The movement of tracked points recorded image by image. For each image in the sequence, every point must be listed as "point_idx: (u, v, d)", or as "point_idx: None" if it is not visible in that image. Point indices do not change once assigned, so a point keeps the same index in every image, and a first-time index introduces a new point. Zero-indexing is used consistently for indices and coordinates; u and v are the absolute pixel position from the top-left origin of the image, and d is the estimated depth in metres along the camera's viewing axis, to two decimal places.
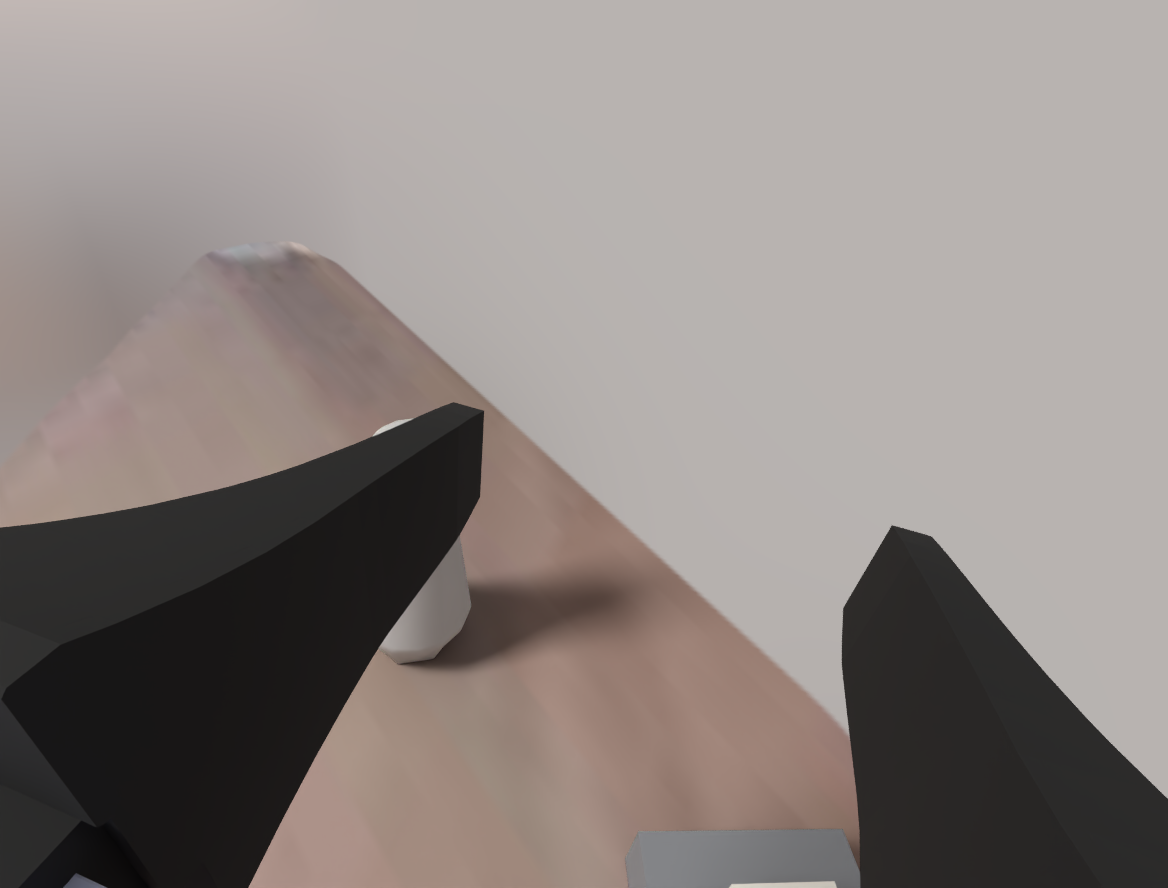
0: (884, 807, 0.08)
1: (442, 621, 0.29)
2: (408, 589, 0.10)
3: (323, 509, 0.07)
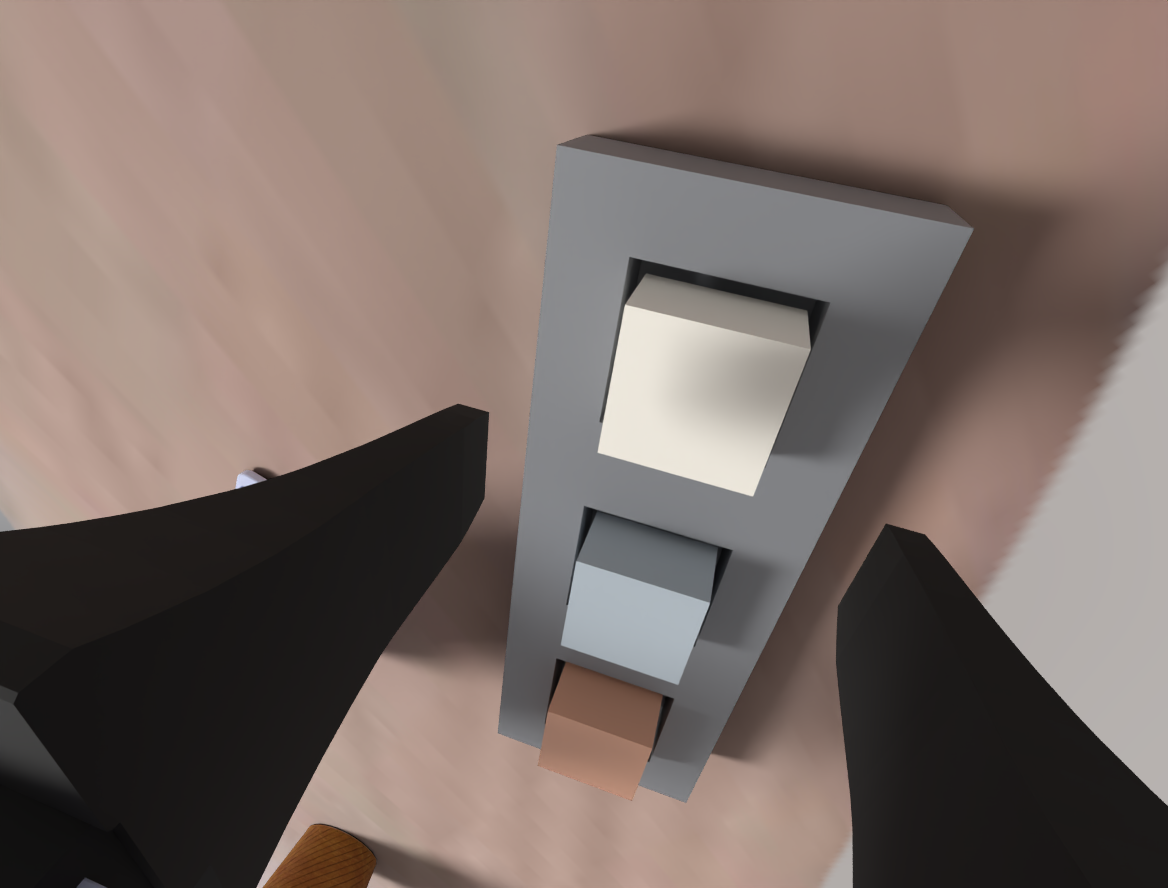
0: (876, 804, 0.08)
1: None
2: (414, 590, 0.10)
3: (330, 511, 0.07)
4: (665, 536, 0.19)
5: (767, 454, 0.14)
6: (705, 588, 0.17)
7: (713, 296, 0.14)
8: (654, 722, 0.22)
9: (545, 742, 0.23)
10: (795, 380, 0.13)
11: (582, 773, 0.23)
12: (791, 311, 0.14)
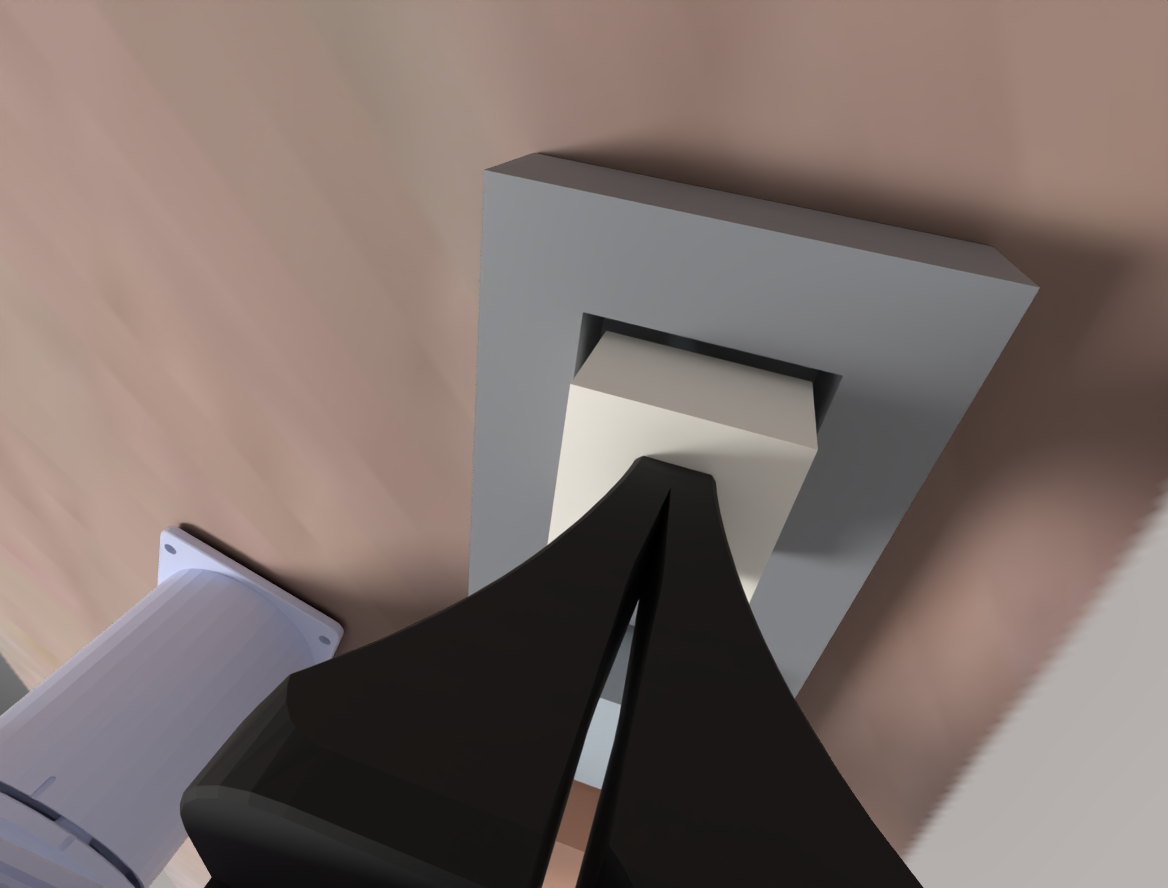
0: (622, 715, 0.08)
1: None
2: (613, 658, 0.09)
3: (610, 602, 0.06)
4: None
5: (760, 571, 0.11)
6: None
7: (690, 363, 0.11)
8: None
9: None
10: (797, 486, 0.09)
11: (550, 884, 0.20)
12: (791, 384, 0.11)
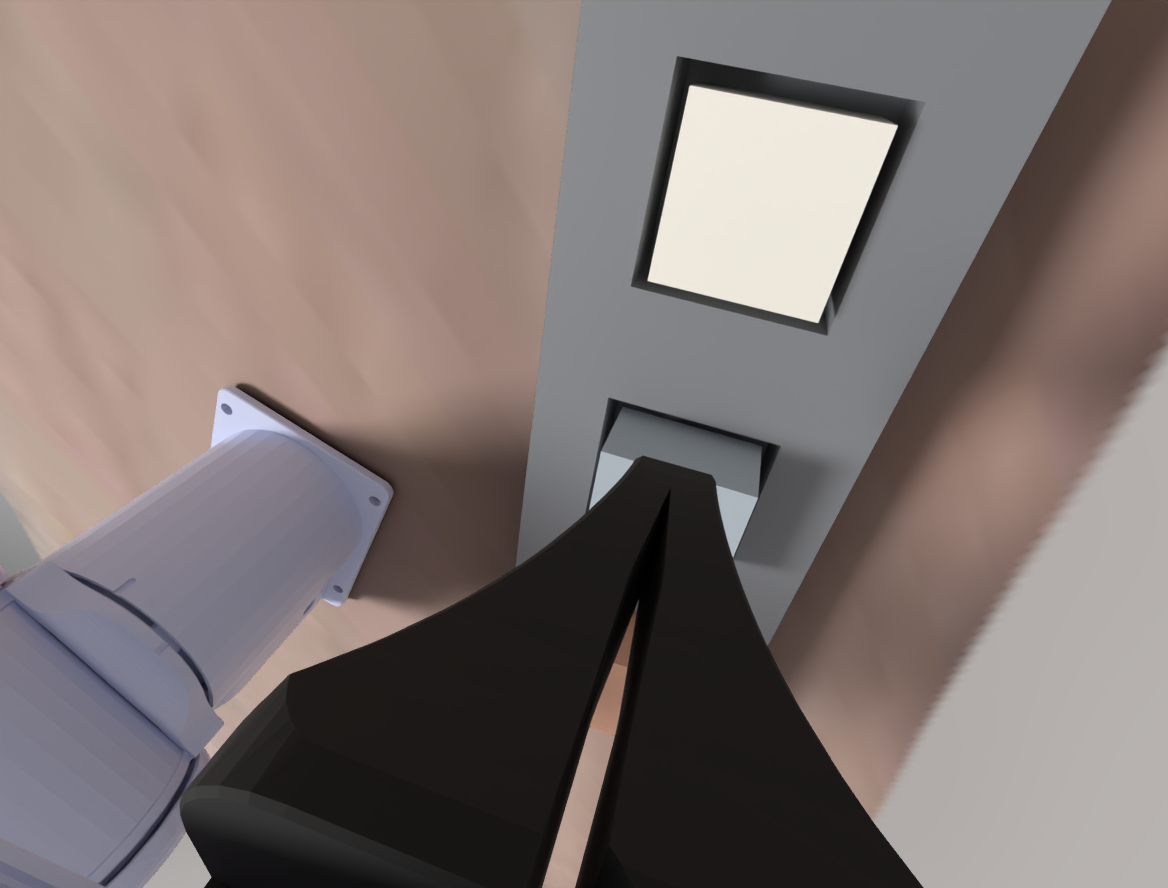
0: (622, 715, 0.08)
1: None
2: (613, 658, 0.09)
3: (610, 602, 0.06)
4: (701, 433, 0.16)
5: (838, 267, 0.13)
6: (751, 484, 0.15)
7: (779, 97, 0.13)
8: None
9: None
10: (877, 168, 0.11)
11: (597, 717, 0.21)
12: (866, 113, 0.13)
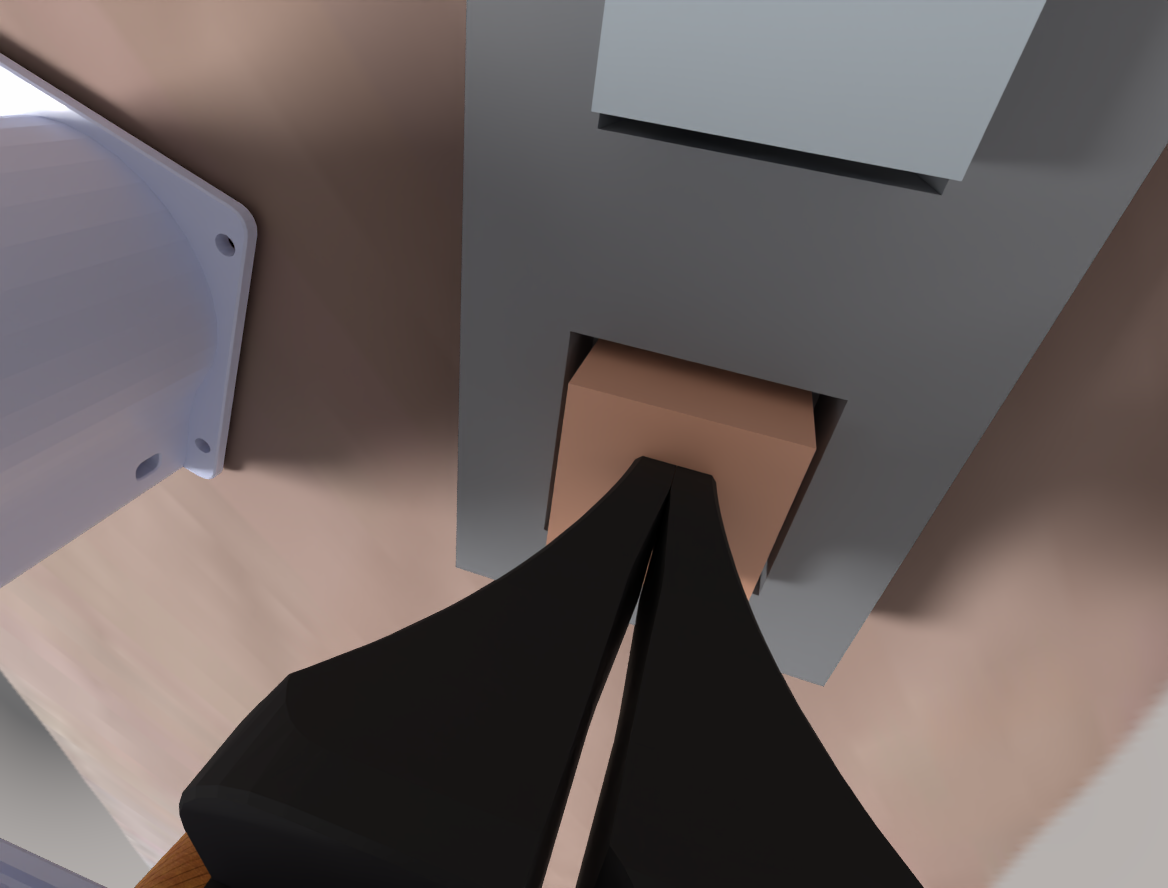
0: (622, 715, 0.08)
1: None
2: (613, 658, 0.09)
3: (609, 602, 0.06)
4: None
5: None
6: None
7: None
8: (807, 415, 0.10)
9: (561, 484, 0.11)
10: None
11: None
12: None
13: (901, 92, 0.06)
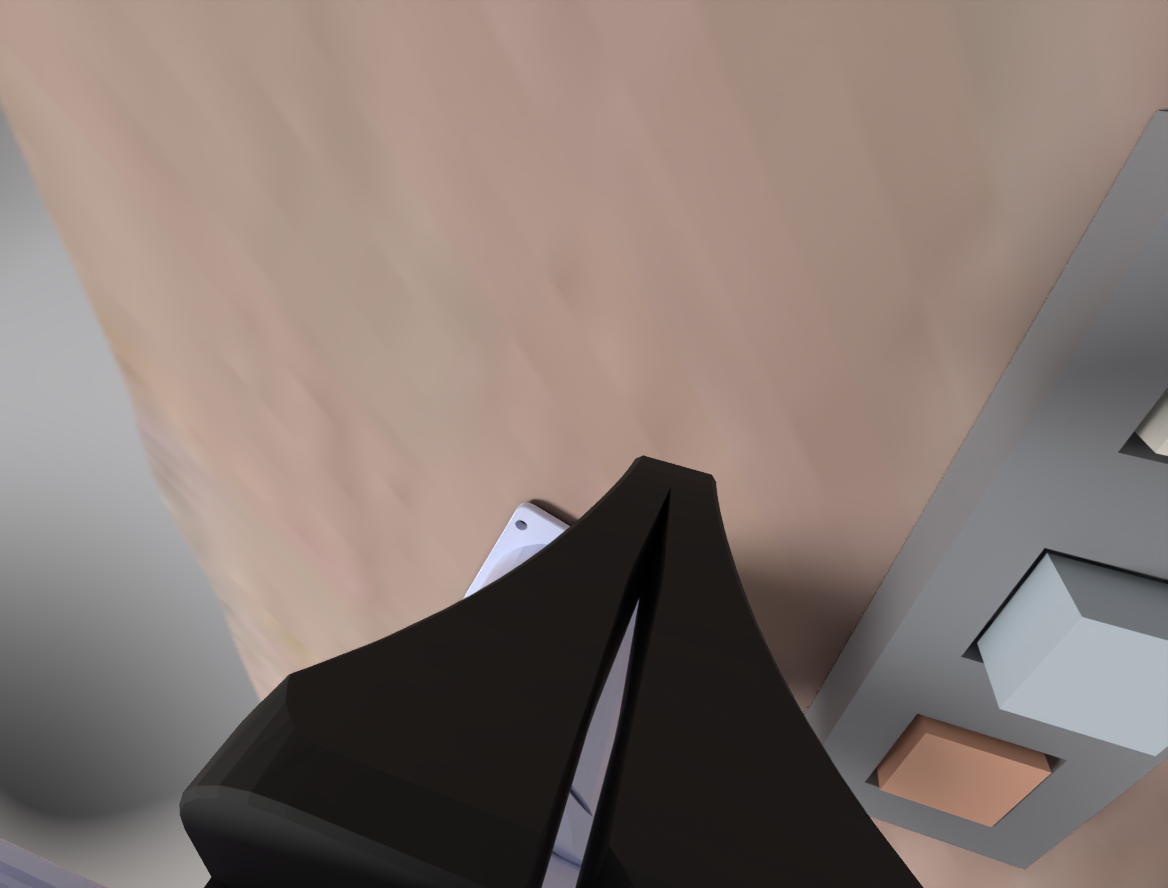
0: (622, 715, 0.08)
1: None
2: (613, 658, 0.09)
3: (610, 602, 0.06)
4: (1142, 582, 0.16)
5: None
6: None
7: None
8: None
9: (904, 765, 0.22)
10: None
11: (938, 798, 0.22)
12: None
13: (1135, 732, 0.16)
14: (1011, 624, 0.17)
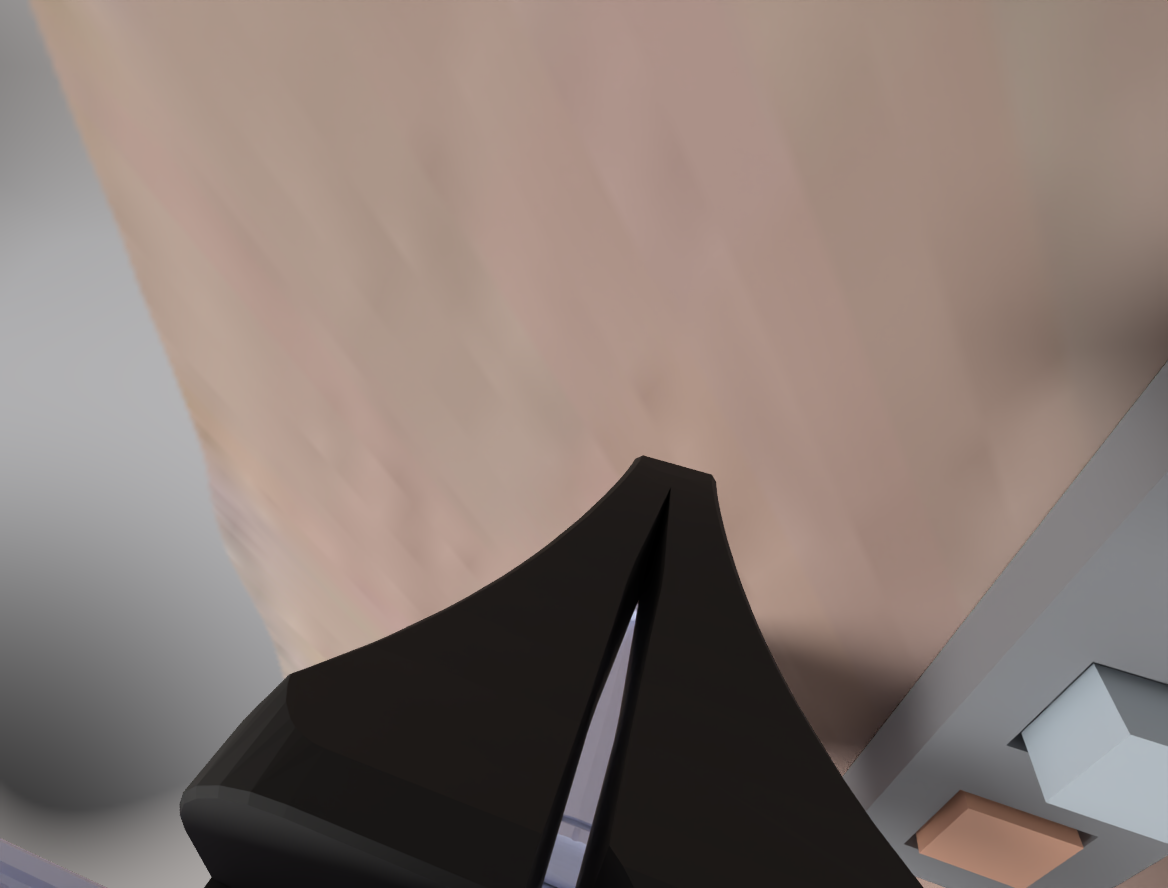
0: (622, 715, 0.08)
1: None
2: (613, 658, 0.09)
3: (610, 602, 0.06)
4: None
5: None
6: None
7: None
8: None
9: (944, 834, 0.23)
10: None
11: (975, 863, 0.24)
12: None
13: None
14: (1057, 723, 0.19)
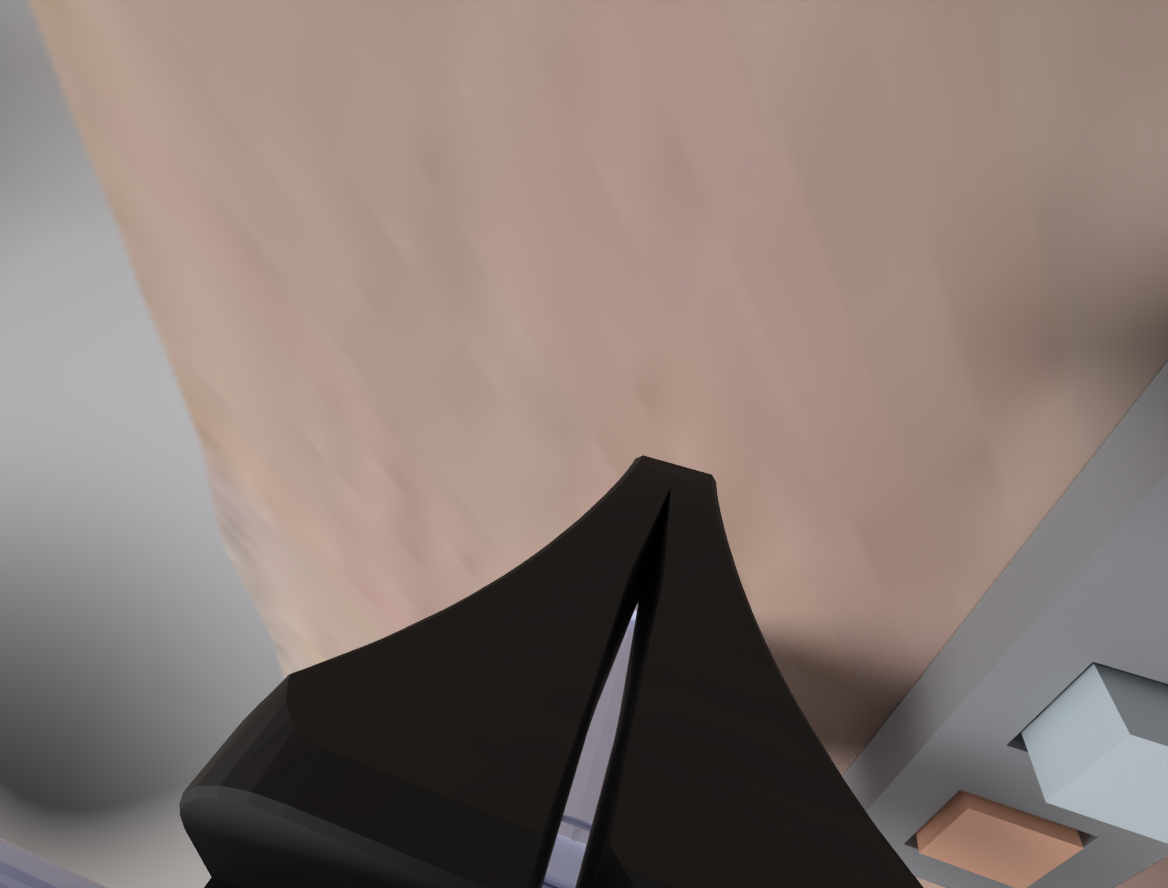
0: (622, 715, 0.08)
1: None
2: (613, 658, 0.09)
3: (610, 602, 0.06)
4: None
5: None
6: None
7: None
8: None
9: (944, 834, 0.23)
10: None
11: (975, 863, 0.24)
12: None
13: None
14: (1057, 723, 0.19)
